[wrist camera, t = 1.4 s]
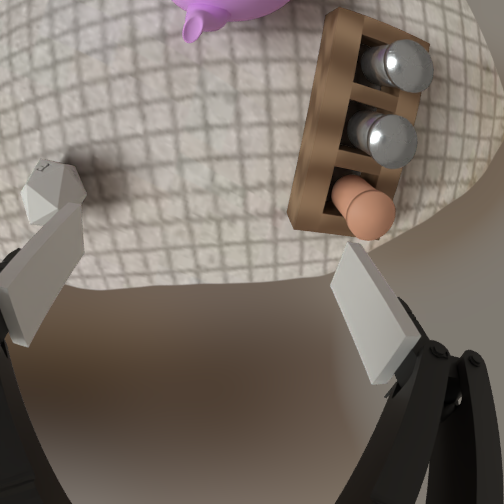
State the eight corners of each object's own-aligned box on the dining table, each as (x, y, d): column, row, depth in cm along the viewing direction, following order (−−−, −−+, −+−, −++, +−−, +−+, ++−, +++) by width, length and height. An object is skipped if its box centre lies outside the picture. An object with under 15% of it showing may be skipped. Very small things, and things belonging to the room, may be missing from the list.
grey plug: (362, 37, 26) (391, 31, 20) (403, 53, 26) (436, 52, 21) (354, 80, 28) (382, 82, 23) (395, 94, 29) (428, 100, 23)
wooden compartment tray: (325, 15, 28) (339, 6, 23) (409, 45, 29) (429, 43, 25) (286, 212, 41) (293, 229, 37) (365, 223, 43) (378, 240, 39)
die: (107, 177, 37) (61, 152, 27) (84, 241, 37) (33, 231, 27) (67, 166, 38) (23, 144, 28) (47, 223, 38) (-1, 211, 28)
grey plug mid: (350, 101, 30) (377, 108, 24) (390, 114, 30) (422, 124, 25) (340, 146, 32) (364, 162, 27) (380, 156, 33) (409, 174, 27)
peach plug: (335, 168, 34) (357, 188, 28) (374, 176, 34) (401, 197, 29) (324, 210, 36) (342, 237, 31) (362, 216, 37) (385, 243, 31)
